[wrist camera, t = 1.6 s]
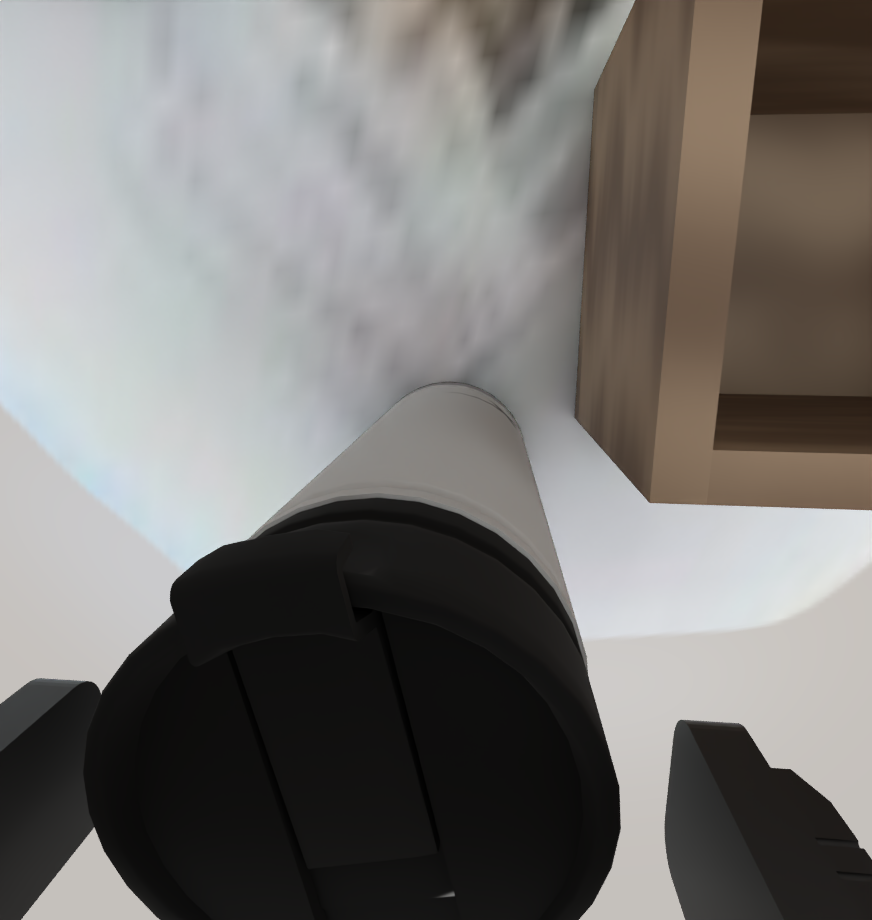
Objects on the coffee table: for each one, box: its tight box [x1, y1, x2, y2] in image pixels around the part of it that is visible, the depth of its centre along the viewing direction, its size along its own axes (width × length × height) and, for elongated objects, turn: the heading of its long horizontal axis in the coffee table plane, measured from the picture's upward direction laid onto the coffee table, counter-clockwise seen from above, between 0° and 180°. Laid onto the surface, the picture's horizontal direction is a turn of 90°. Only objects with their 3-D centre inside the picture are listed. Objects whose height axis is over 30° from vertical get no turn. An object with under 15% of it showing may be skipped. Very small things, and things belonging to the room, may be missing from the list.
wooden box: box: [575, 0, 872, 510], centre depth 17 cm, size 12×12×12 cm
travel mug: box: [83, 382, 621, 920], centre depth 16 cm, size 6×7×20 cm
